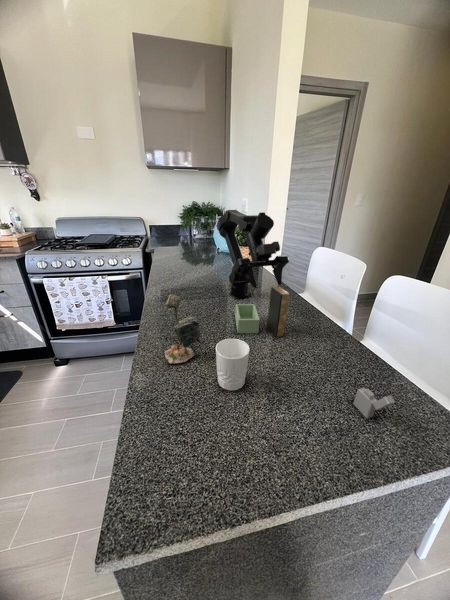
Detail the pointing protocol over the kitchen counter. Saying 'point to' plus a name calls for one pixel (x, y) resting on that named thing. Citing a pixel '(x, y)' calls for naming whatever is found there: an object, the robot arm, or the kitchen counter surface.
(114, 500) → the kitchen counter surface
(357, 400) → the grey angled bracket
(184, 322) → the plant with pod
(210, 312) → the kitchen counter surface
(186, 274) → the kitchen counter surface
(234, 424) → the kitchen counter surface
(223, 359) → the white cup
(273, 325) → the eraser
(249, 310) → the holder
